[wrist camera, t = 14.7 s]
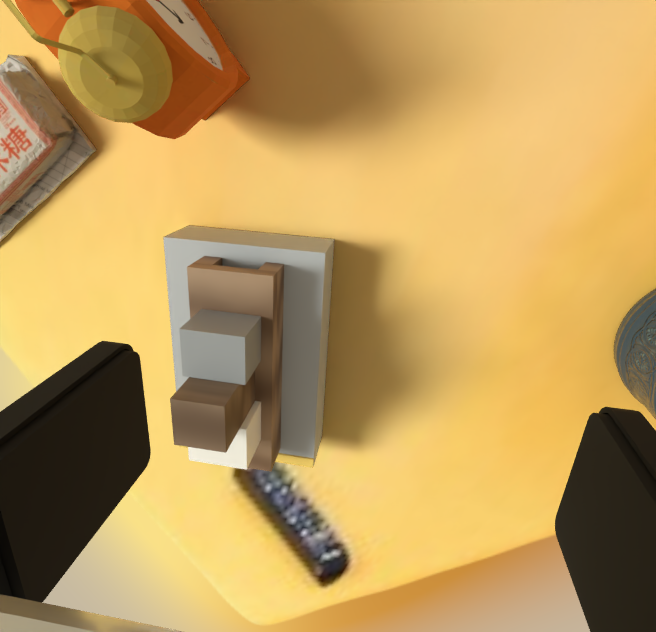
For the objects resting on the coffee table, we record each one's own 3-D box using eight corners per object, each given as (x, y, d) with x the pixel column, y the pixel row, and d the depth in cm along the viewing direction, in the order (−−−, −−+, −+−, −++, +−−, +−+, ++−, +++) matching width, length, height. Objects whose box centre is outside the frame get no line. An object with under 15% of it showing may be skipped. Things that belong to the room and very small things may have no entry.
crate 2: (206, 393, 41) (186, 420, 37) (261, 401, 40) (246, 429, 37) (208, 431, 42) (189, 460, 39) (260, 439, 42) (246, 469, 38)
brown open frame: (204, 255, 40) (139, 297, 30) (284, 263, 39) (243, 309, 29) (213, 437, 47) (163, 517, 37) (280, 448, 46) (247, 532, 37)
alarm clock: (267, 90, 38) (139, 60, 20) (215, 137, 41) (56, 149, 22) (160, -62, 36) (-102, -257, 17) (110, -2, 38) (-170, -121, 20)
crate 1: (201, 308, 38) (179, 328, 34) (261, 316, 37) (244, 337, 33) (203, 352, 39) (182, 376, 36) (260, 360, 39) (245, 385, 35)
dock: (189, 225, 44) (162, 237, 39) (334, 239, 42) (324, 253, 38) (200, 418, 53) (179, 447, 48) (321, 436, 51) (312, 468, 46)
